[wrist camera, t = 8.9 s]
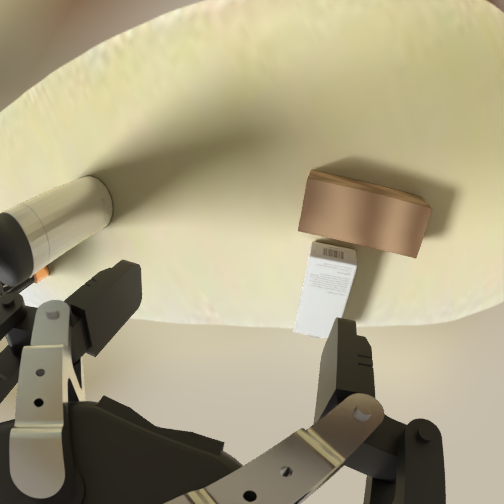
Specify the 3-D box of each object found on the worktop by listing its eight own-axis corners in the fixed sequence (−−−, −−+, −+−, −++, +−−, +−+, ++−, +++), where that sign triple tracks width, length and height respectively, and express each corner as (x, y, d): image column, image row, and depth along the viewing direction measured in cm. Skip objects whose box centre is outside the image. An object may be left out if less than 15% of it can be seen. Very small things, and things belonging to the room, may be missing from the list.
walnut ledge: (302, 216, 39) (297, 231, 35) (311, 170, 36) (307, 178, 32) (407, 241, 37) (416, 258, 32) (421, 196, 34) (432, 209, 29)
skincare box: (312, 239, 40) (295, 312, 46) (308, 255, 36) (290, 332, 42) (358, 249, 39) (335, 321, 45) (360, 267, 35) (334, 342, 41)
